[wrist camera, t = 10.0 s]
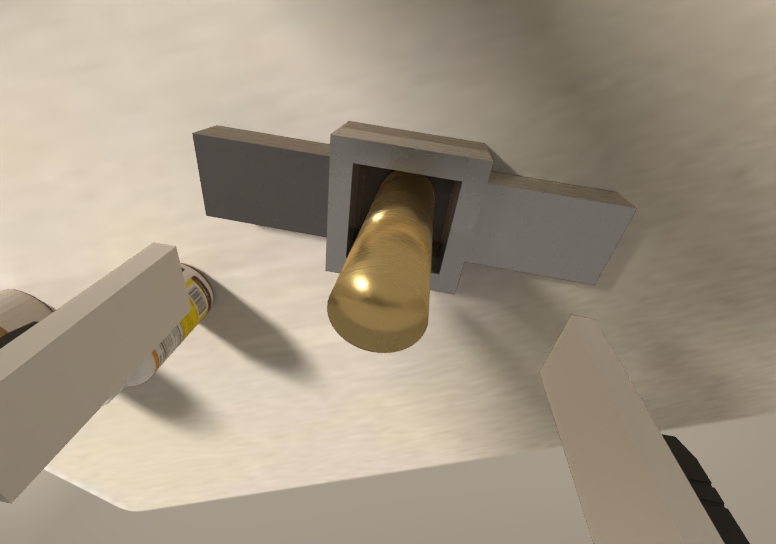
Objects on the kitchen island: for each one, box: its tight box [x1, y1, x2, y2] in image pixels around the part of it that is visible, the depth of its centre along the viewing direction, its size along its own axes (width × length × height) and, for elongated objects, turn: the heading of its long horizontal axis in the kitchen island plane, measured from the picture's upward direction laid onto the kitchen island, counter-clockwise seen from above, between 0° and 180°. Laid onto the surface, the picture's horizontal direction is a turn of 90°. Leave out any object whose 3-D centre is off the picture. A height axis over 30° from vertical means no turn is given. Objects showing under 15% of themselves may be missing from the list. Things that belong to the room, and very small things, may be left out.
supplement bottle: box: [102, 263, 213, 406], centre depth 25 cm, size 6×6×10 cm
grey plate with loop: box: [192, 121, 637, 294], centre depth 21 cm, size 24×8×4 cm, turn 82°
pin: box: [327, 171, 434, 353], centre depth 17 cm, size 4×4×12 cm
